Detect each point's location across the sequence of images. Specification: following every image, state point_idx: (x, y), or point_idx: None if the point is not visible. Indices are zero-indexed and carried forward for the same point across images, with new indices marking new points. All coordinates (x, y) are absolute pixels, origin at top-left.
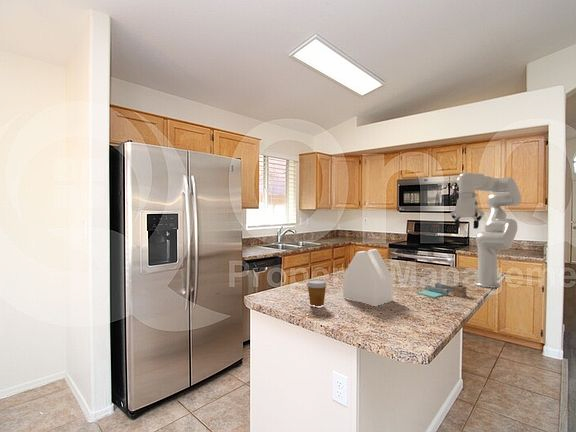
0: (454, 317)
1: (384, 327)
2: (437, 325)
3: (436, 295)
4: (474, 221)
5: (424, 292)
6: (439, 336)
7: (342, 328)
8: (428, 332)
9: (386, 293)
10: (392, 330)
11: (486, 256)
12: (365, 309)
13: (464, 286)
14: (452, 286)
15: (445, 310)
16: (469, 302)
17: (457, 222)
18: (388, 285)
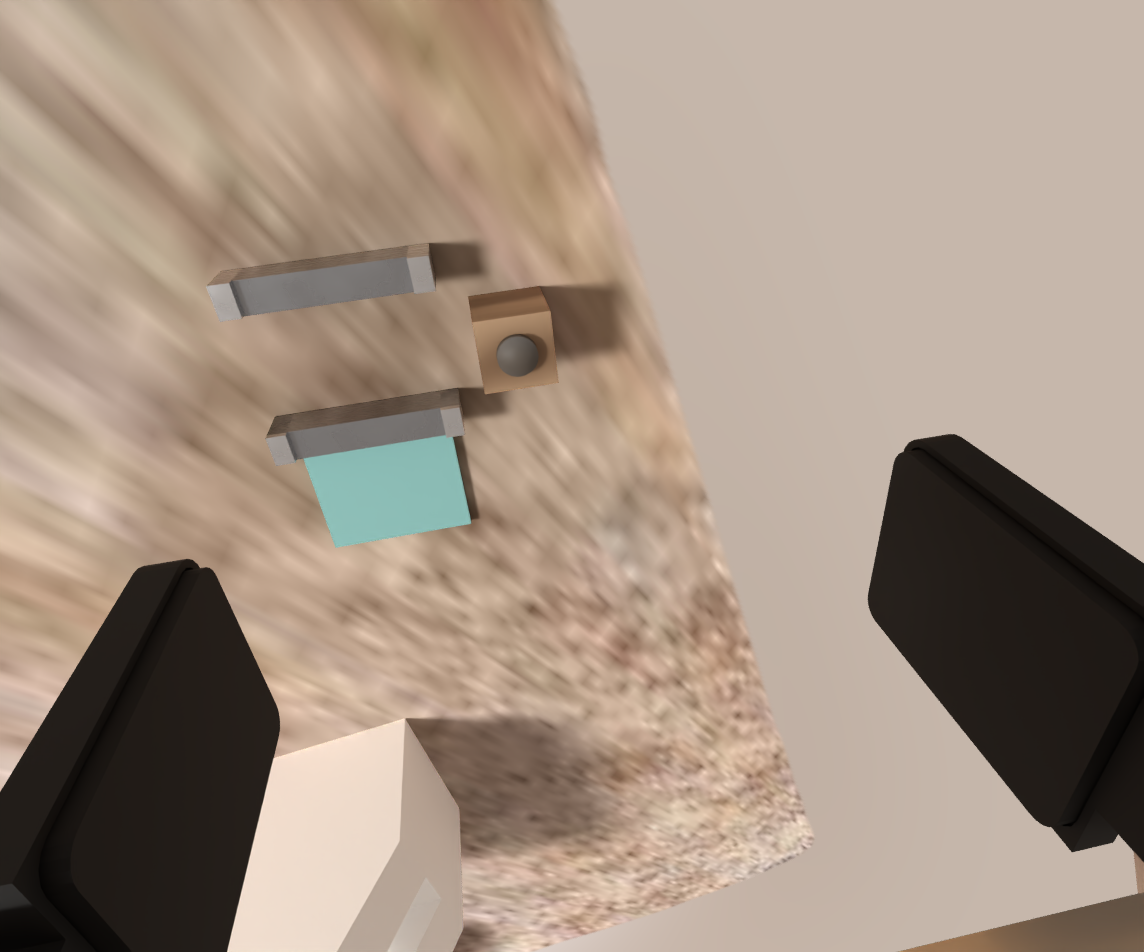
0: (726, 643)
1: (642, 851)
2: (731, 735)
3: (452, 492)
4: (1075, 823)
5: (355, 507)
6: (782, 774)
7: (582, 924)
8: (746, 781)
9: (426, 799)
10: (672, 843)
11: None
12: (467, 842)
13: (540, 323)
14: (380, 269)
15: (652, 615)
16: (645, 409)
17: (206, 890)
18: (418, 827)
